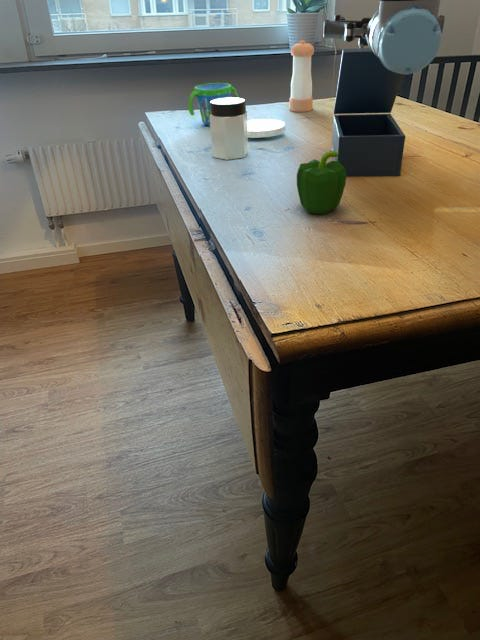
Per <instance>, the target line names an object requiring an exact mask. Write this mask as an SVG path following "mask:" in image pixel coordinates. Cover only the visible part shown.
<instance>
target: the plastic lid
mask: <svg viewBox="0 0 480 640" xmlns="http://www.w3.org/2000/svg"><path fill="white" fill-rule="evenodd" d="M247 132H248V138H250V139H251V138H253V139H254V138H256V139H257V138H261V139H262V138H269V137H275V136H279V135H282V134H285V133H286V122H285V121H283V120H278V119H271V118H253V119H247Z"/></svg>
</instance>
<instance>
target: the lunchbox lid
mask: <svg viewBox="0 0 480 640" xmlns="http://www.w3.org/2000/svg"><path fill="white" fill-rule="evenodd" d="M358 46H359V48H343V49H342V52H341V59H340V66H339V73H338V80H337V87H336V94H335V100H334V107H333V115H349V114H391V112H392V110H393V107H394V105H395V102H396V99H397V96H398V93H399V90H400V87H401V84H402V82H403V78H404V76H405V74H399V73H396V72H392V71H390V70H388V69H387V68H385V66H383V65H382V64H381V62H380V59H379V58H378V57H377V56H376V55H375V54H374V53H373V52H372V51H371V50H370V48H369V46H368V43H367V42H361V41H360V38H358Z"/></svg>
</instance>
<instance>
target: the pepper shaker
mask: <svg viewBox="0 0 480 640" xmlns="http://www.w3.org/2000/svg"><path fill="white" fill-rule="evenodd" d="M314 53H315V48H314V46H313V45H312V44H311V43H308V42H307V43H306V41H305V40H304V39H302V40H299V43H295V44H294V45H292V46H291V48H290V54H291V56H292V76H291V81H290V97H289V107H288V108H289V109H288V110H289V111H290V112H294V113H295V112H296V113H304V112H310V111H312V110H313V103H314V97H313V95H312V94H313V80H312V78H313V77H312V56H313V55H314Z"/></svg>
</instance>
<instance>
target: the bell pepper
mask: <svg viewBox="0 0 480 640" xmlns="http://www.w3.org/2000/svg"><path fill="white" fill-rule="evenodd" d="M338 154H339V153H338V152H335V151H332V150H331V151H327V152H325V153H324V154H323V155H322V156H321V158H320V160H318V159H311V160H310V161H308V162H303V163H300V164H299V167H298V168H297V170H296V188H297V193H298V197H299V201H300V204H301V206H302V208H304V209H305V210H306V211H307V212H308V213H310V214H316V215H320V214H321V215H323V214H324V215H325V214H327V213H329V212H330V211H332V210H333V211H334V210H336V209H337V208H338V207H339V205H340V203H341V200H342V197H343V194H344V192H345V191H344V190H345V188H346V184H347V176H346V174H347V172H346V170H345V167H344V166H342V165H341V163H340V162H339V161H334V160H331V161H327V160H328V159H329V158H333V157H335V158H336V157H337V156H338Z"/></svg>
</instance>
